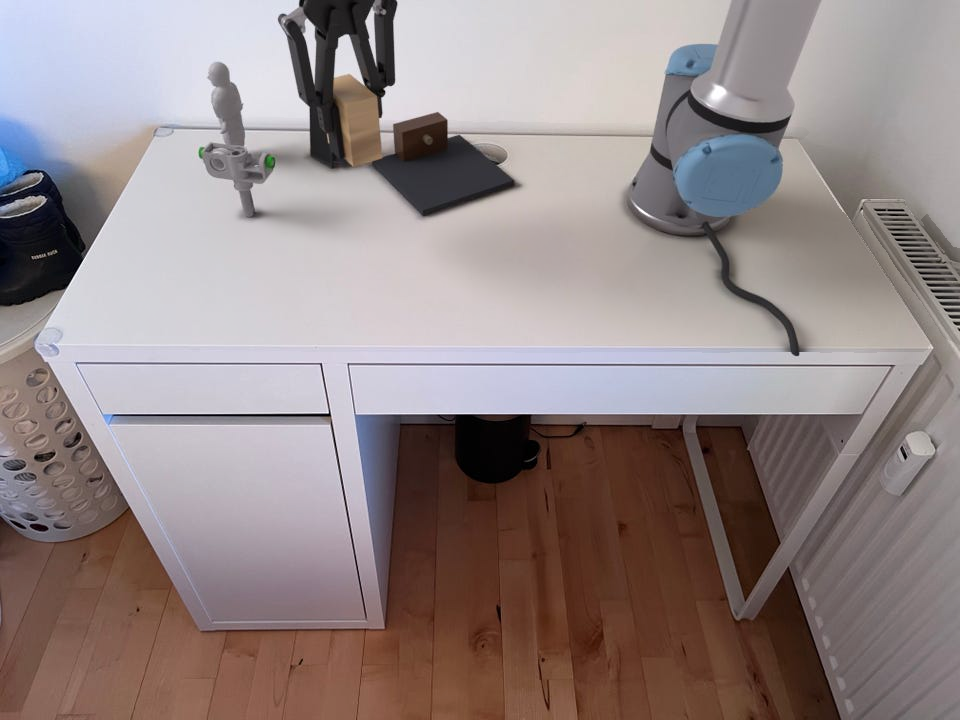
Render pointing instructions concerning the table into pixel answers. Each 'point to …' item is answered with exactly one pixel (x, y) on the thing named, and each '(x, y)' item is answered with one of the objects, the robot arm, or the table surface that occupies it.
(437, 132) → the dark brown wooden block
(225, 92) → the figurine
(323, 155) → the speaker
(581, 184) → the table surface
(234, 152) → the mechanical component
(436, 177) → the mat
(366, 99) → the pad block
